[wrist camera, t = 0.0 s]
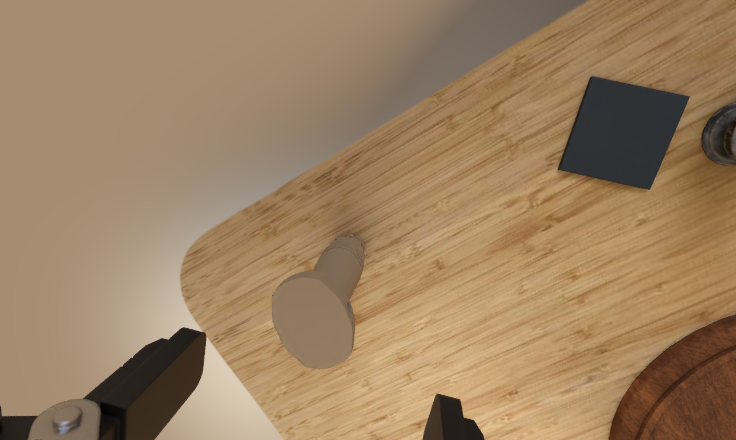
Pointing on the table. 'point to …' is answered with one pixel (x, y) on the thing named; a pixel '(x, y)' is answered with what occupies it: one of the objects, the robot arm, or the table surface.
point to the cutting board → (685, 391)
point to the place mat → (622, 132)
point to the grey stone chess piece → (721, 136)
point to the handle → (321, 306)
